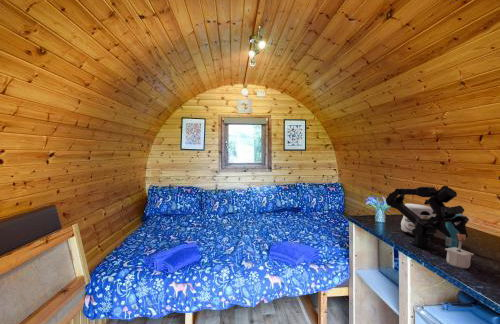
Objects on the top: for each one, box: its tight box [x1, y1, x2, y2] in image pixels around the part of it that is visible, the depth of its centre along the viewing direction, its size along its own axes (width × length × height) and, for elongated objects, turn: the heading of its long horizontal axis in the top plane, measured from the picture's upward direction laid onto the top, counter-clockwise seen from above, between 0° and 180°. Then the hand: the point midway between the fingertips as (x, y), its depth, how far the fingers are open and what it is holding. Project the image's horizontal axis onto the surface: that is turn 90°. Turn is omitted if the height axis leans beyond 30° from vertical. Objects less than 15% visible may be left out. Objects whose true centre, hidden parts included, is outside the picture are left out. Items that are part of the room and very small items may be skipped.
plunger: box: [456, 232, 466, 252], centre depth 112 cm, size 5×5×9 cm
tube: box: [444, 213, 464, 248], centre depth 133 cm, size 7×5×19 cm, turn 47°
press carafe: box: [444, 247, 475, 269], centre depth 112 cm, size 8×10×6 cm
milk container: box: [400, 203, 435, 237], centre depth 151 cm, size 17×17×18 cm
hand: (458, 237), depth 112 cm, fingers open, 9 cm apart
